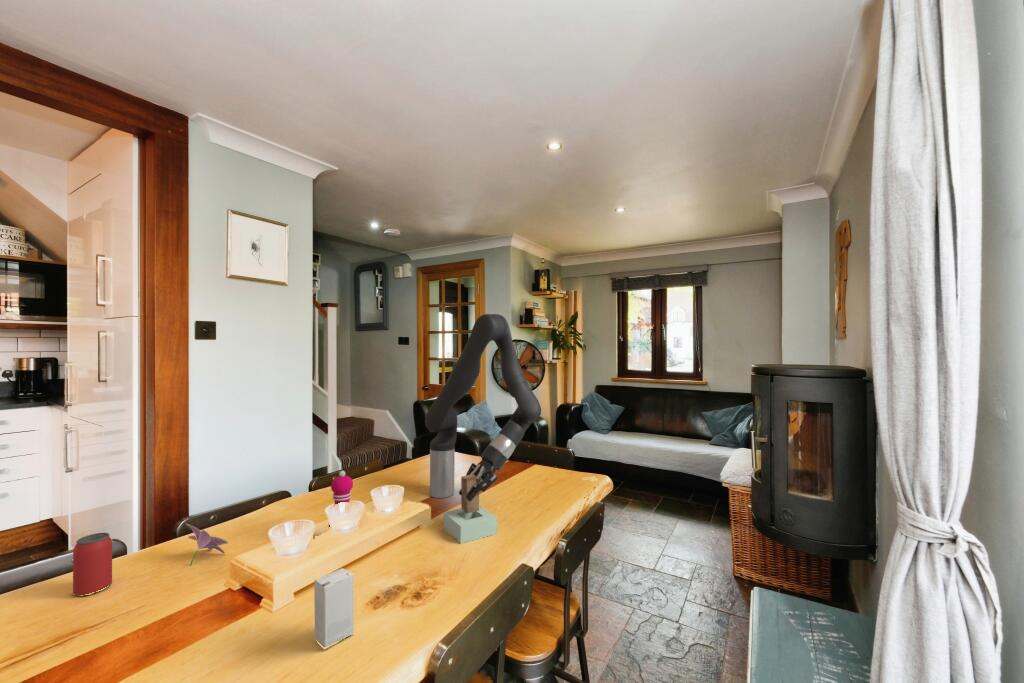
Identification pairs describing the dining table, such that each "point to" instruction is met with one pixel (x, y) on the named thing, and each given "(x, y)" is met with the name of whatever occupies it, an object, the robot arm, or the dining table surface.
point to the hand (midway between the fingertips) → (464, 497)
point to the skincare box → (334, 607)
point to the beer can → (92, 563)
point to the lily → (205, 540)
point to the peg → (466, 486)
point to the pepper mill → (341, 488)
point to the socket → (470, 524)
